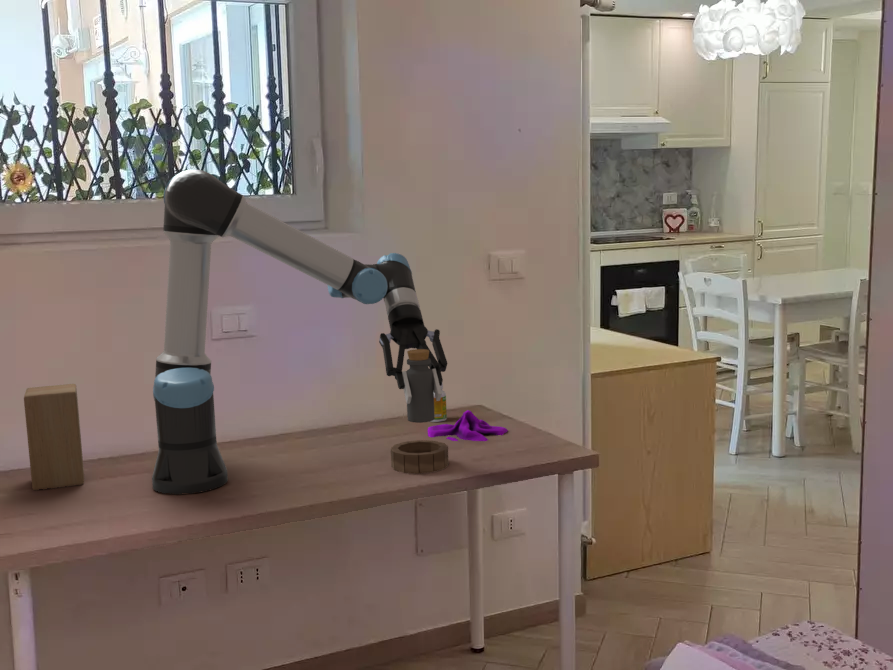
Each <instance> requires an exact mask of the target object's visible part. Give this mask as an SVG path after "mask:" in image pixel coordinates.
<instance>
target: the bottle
mask: <svg viewBox="0 0 893 670" xmlns="http://www.w3.org/2000/svg"><path fill="white" fill-rule="evenodd" d="M406 353H407V357H408V358H407V359H406V364H407V366H409V369H406V370H405V371H406V373H407V378H408V382H409V387H410V391H411V395H412V397H411V402H410V404H407V403H406V413H407V415H406V416H407V421H408V422H411V423H415V424H416V423H417V424H418V423H419V424H421V423H430V421H433V420H434V416H435V415H434V388H433V371H432V370H431V369H430V368H429V366H428V364H430V363H431V359H430V358H428V357H429V350H426V349H416V348H415V349H408V351H406Z"/></svg>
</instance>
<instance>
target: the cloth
mask: <svg viewBox="0 0 893 670" xmlns="http://www.w3.org/2000/svg"><path fill="white" fill-rule="evenodd" d="M508 431H509V430H508V429H507V428H506V427H503V426H498V425H497V426H494V425H490V424H489V423H488V422H486V421H485V420H483V419H479V418H478V417H477V416H476V415H474V413H473V412H472V411H471V410H469V409H467V410H466V411H463V413H462V415H461V417H459V419H458V420H457V421H455V423H454V424H451V423H450V424H448V423H442V424H437V425H431V426H428V427H427V436H428V437H429V438H437V437H446V439H445V440H448V441H452V442H459V441H458V440H459V439H460V440H462V439H463V440H464V441H472V442H487V441H489V439H488V438H487V437H486V435H487V436H498V435H501V436H503V435H505V434H507V432H508ZM504 433H505V434H504ZM448 435H451V436H448ZM453 436H457V437H453ZM458 437H459V438H458Z"/></svg>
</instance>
